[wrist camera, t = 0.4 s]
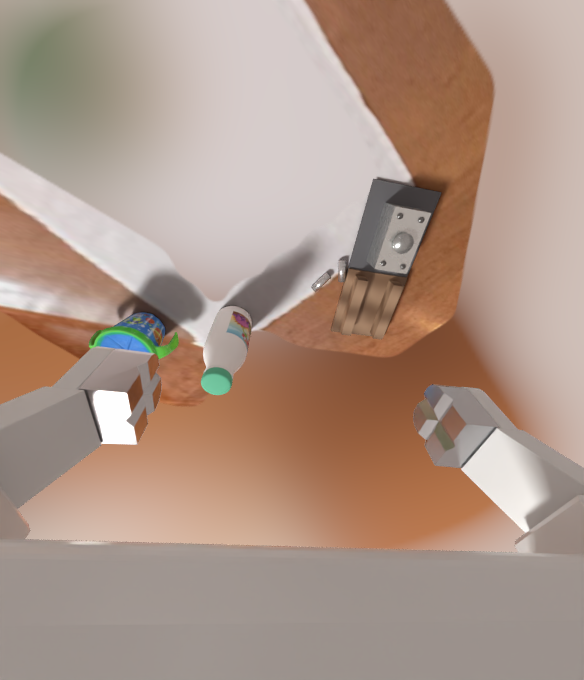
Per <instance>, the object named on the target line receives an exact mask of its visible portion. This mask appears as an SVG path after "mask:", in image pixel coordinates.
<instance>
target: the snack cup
mask: <svg viewBox="0 0 584 680" xmlns="http://www.w3.org/2000/svg"><path fill="white" fill-rule="evenodd" d="M164 335H165V327H164V326H163V324H162V322H161V321H160V320H159V319H158V318H157V317H155V316H154V315H153V314H150V313H149V314H148V313H145V312H141V313H135V314H133V315H131V316H129V317H128V318H126V319H124V320H123V321H121V322H120V323H118V324H116V325H115V326H114V327H110V328H106V329H104V330H99V331H97V332H96V333H95V334H94V335H93V336H92V338H91V340H90V341H89V347H90V349H91V348H93V347H97V346H99V347H107V348H115V349H125V350H132V351H140V352H147V353H155V354H156V355H157V356H158V358H159V359H161V358H163V357H165V356H167V355H168V354H170V353H171V352H172V351H173V350H174V349H175V348H176V347H177V346H178V343H179V342H178V335H177V332H175V335H174V337H173V338H172V340H171V341H170V343H169V344H168V345H165V346H161V344H162V341H163V338H164Z"/></svg>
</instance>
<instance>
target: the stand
mask: <svg viewBox="0 0 584 680" xmlns="http://www.w3.org/2000/svg"><path fill="white" fill-rule="evenodd" d="M407 279H408V278H407V277H401V276H395V275H388V274H382V273H376V272H369V271H363V270H357V269H350V268H349V269H348V272H347V274H346V277H345V282H344V284H343V288H342V291H341V295H340V298H339V302H338V305H337V309H336V312H335V316H334V319H333V323H332V326H331V331H334V332H341V334H342V335H350V336H351V334H358V335H366V336H372V337H373V338H374V339H382V338H383V337H384V335H385V332H386V330H387V327H388V325H389V322H390V320H391V318H392V315H393V313H394V310H395V308H396V305H397V303H398V301H399V298H400V296H401V293H402V291H403V288H404V286H405V284H406V281H407Z"/></svg>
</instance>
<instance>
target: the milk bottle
mask: <svg viewBox="0 0 584 680" xmlns="http://www.w3.org/2000/svg"><path fill="white" fill-rule="evenodd" d="M251 328H252V320H251V317H250V315H249V314H248V313H247V312H246V311H245V310H244V309H242V308H240V307H237V306H228V307H224V308H222V309H221V310H220V311H219V312H218V313H217V315H216V317H215V319H214V322H213V324H212V327H211V329H210V331H209V334H208V337H207V339H206V342H205V345H204V350H203V357H204V362H205V364H206V369H205V371H204V374H203V376H202V379H201V385H202V387H203V389H204V390H205V391H207V392H208V393H210V394H214V395H222V394H225V393H227V392H228V391H229V390H230V388H231V386H232V380H233V374H234V373H235V372H236V371H237V370H238V369H239V368H240V367H241V366H242V364H243V363H244V361H245V358H246V355H247V351H248V346H249V340H250V334H251Z"/></svg>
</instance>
